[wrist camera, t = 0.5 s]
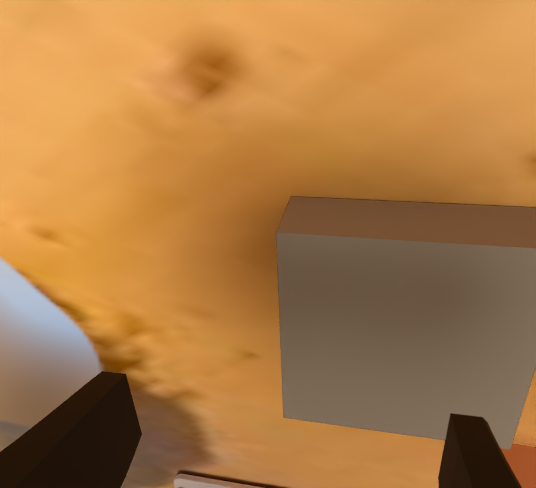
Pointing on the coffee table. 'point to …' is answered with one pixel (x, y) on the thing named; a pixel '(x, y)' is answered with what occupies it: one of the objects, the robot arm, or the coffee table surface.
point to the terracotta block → (522, 464)
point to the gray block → (406, 314)
